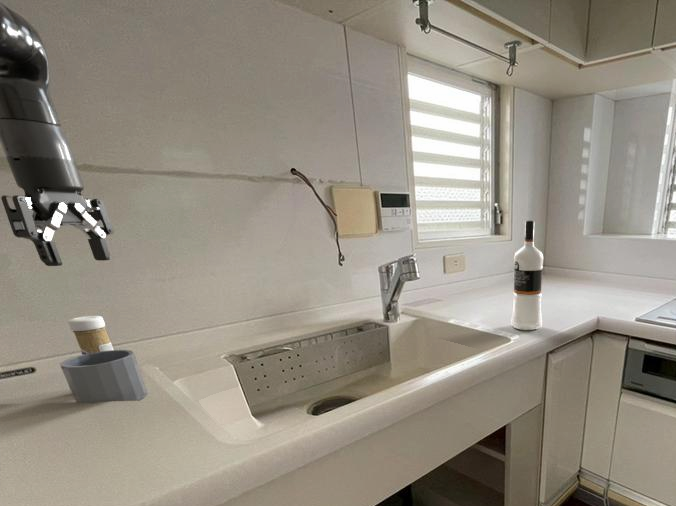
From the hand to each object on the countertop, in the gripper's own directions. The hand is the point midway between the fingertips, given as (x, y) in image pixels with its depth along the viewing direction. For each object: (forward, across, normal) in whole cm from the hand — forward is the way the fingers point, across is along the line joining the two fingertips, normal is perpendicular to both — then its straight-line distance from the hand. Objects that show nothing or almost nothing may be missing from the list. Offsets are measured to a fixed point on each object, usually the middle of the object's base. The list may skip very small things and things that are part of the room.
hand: (79, 262), depth 69 cm
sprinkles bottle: (+23, 0, -3) cm, 24 cm away
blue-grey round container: (+23, +6, +4) cm, 24 cm away
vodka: (+23, -47, +81) cm, 96 cm away
